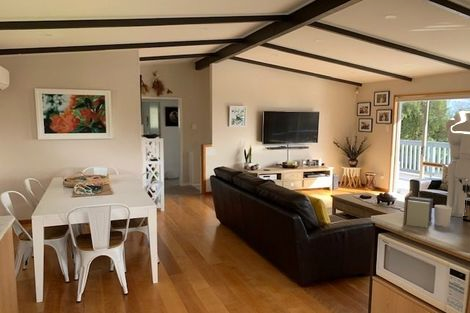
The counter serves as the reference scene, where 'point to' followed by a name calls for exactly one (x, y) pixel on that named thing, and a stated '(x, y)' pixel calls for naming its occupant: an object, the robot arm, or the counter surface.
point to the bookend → (430, 207)
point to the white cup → (442, 215)
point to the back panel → (406, 206)
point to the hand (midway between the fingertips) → (465, 192)
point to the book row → (418, 212)
